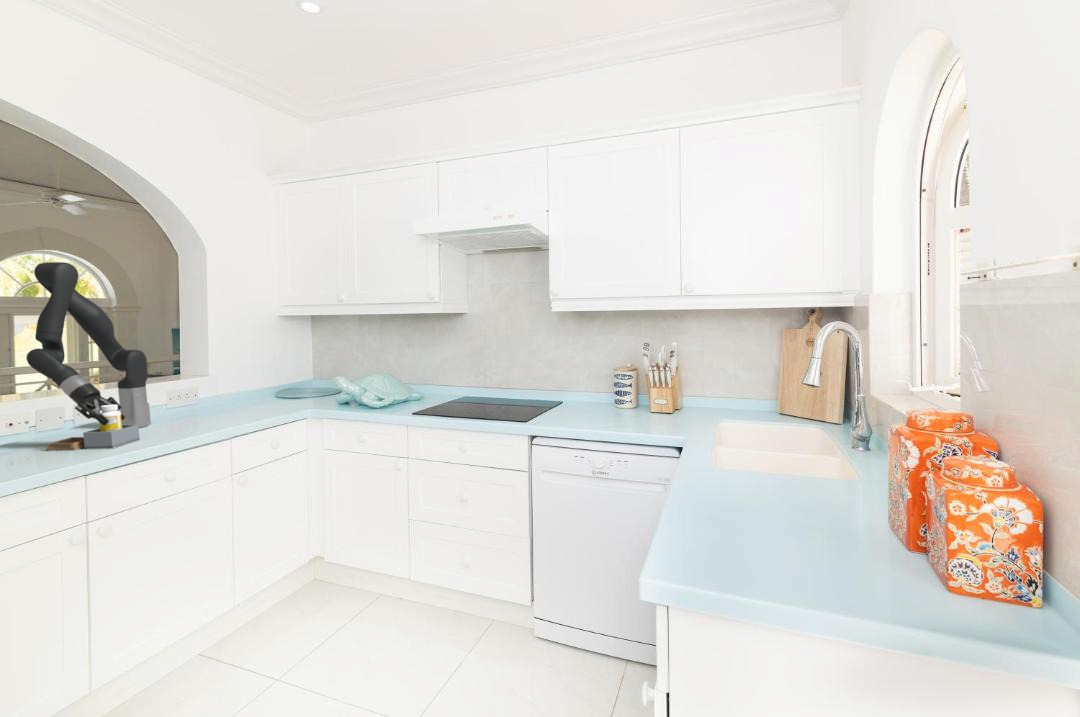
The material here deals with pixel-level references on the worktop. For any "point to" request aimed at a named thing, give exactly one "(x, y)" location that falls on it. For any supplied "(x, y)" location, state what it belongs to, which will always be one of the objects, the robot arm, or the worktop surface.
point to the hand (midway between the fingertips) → (115, 421)
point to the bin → (111, 437)
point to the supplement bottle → (111, 418)
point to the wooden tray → (67, 444)
